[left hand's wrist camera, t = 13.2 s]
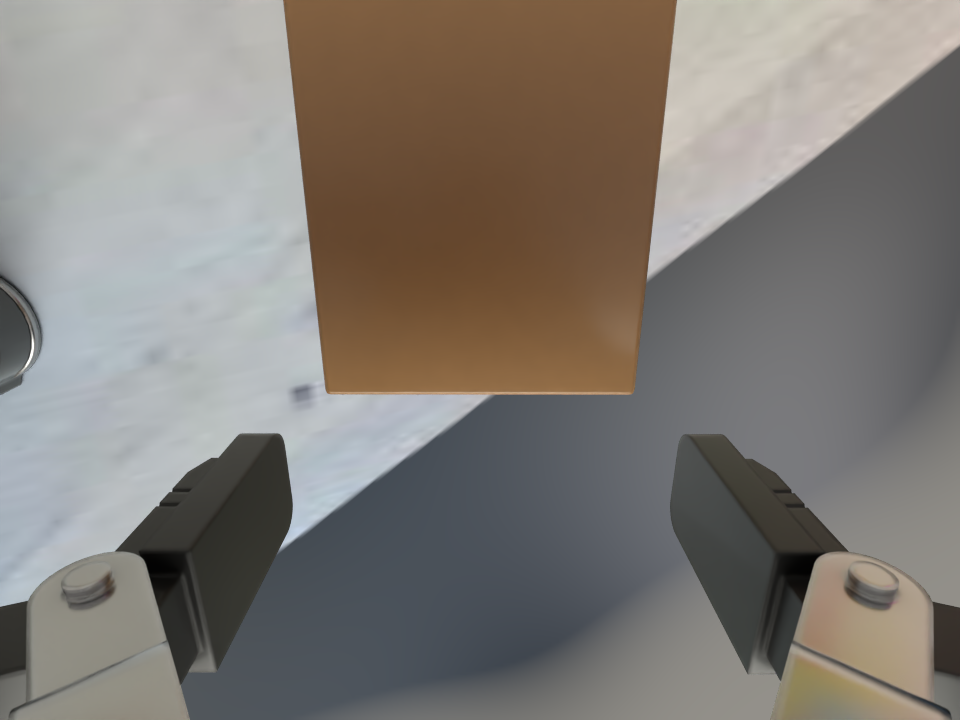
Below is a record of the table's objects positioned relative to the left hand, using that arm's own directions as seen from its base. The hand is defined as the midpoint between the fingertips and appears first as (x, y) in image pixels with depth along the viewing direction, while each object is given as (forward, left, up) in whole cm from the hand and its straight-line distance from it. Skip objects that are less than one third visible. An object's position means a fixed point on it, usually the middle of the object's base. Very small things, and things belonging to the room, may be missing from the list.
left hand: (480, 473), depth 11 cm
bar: (+15, +4, -7) cm, 17 cm away
